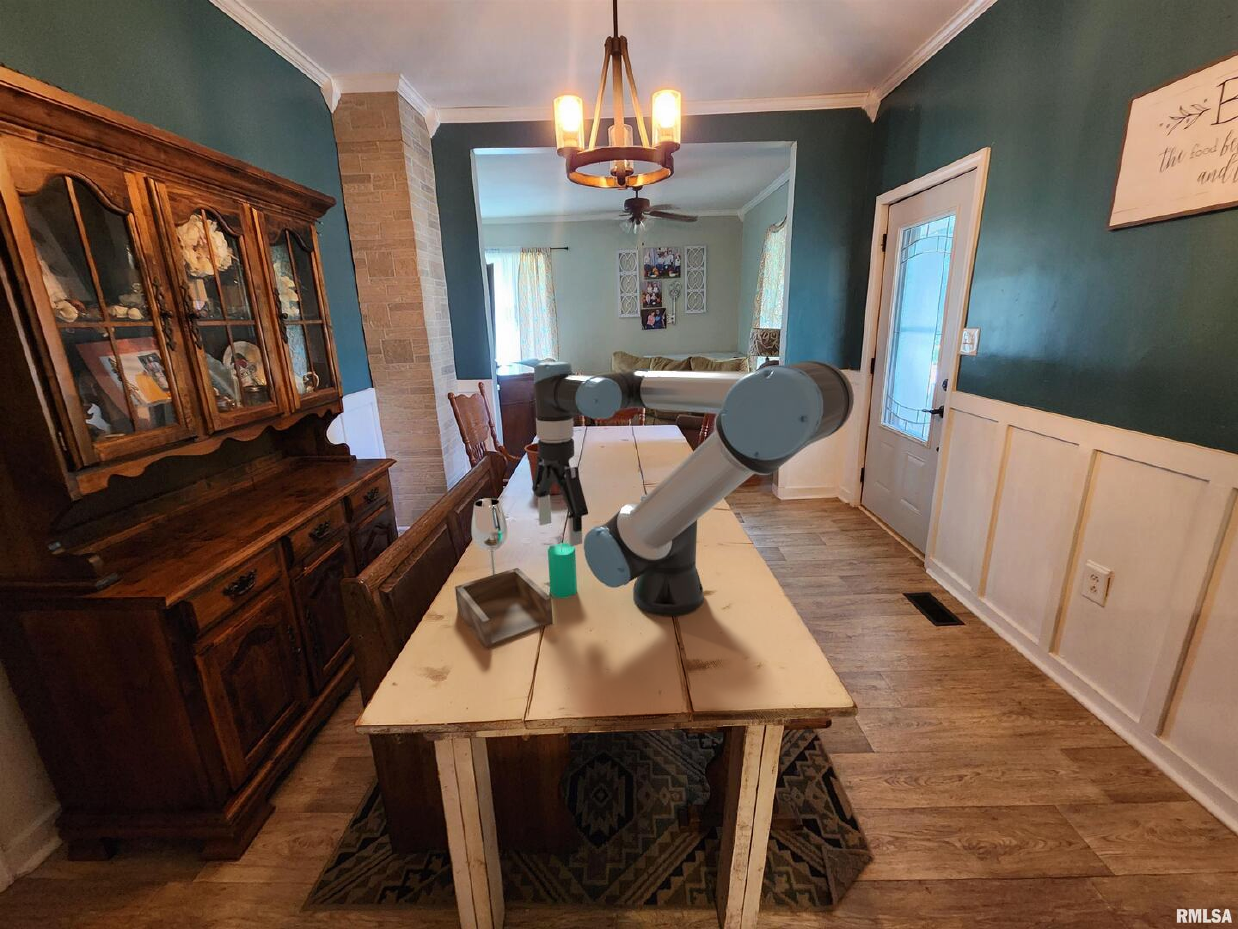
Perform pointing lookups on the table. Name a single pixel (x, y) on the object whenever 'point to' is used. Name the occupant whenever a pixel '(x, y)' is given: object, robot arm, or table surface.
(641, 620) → the table surface
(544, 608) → the tray
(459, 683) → the table surface
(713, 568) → the table surface
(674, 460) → the table surface
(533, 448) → the flower pot
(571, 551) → the candle
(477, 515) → the wineglass
